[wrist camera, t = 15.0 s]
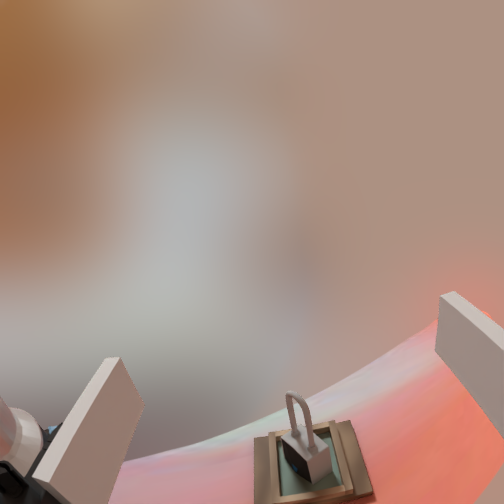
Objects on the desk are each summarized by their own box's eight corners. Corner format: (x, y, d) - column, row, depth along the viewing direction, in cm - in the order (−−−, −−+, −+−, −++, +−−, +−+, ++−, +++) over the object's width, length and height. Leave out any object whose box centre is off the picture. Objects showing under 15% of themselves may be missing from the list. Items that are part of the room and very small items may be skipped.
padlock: (281, 459, 35) (261, 388, 31) (305, 444, 37) (292, 371, 33) (310, 486, 29) (298, 420, 25) (335, 468, 31) (331, 397, 27)
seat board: (256, 515, 27) (251, 508, 27) (255, 442, 41) (252, 432, 40) (372, 494, 26) (373, 486, 26) (349, 424, 40) (349, 413, 39)
